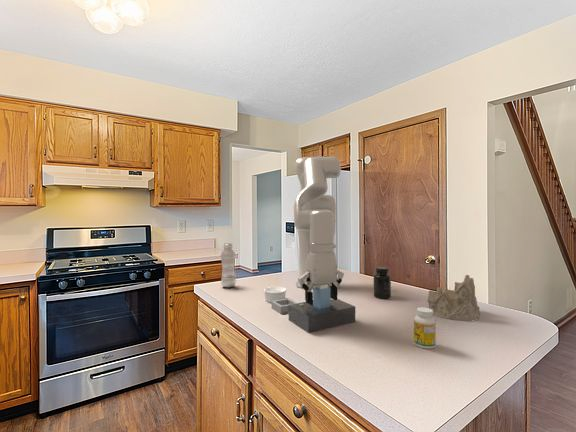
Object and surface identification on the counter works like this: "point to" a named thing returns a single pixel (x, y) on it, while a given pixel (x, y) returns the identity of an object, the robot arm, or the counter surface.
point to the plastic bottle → (228, 266)
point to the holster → (282, 305)
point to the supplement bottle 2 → (424, 328)
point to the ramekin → (274, 293)
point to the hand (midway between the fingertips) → (321, 301)
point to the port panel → (321, 315)
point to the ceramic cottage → (455, 301)
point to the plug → (321, 296)
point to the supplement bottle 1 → (382, 283)
